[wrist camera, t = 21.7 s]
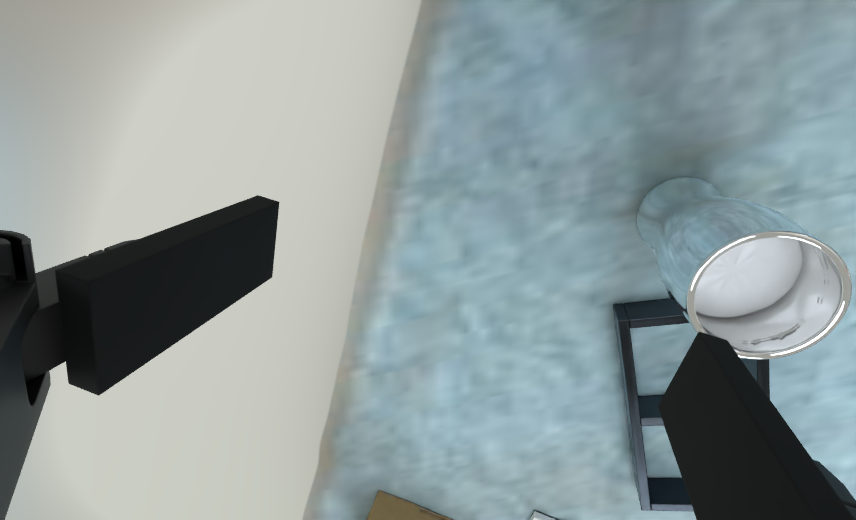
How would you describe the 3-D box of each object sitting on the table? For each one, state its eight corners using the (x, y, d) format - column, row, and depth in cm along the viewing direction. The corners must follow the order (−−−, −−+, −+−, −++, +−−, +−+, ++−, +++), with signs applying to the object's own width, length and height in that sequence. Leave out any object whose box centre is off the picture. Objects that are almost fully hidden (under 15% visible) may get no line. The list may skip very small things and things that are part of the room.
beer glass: (625, 180, 35) (677, 239, 21) (729, 161, 32) (862, 213, 19) (634, 264, 37) (687, 368, 23) (733, 252, 34) (855, 358, 21)
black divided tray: (751, 289, 35) (768, 306, 32) (756, 485, 41) (771, 513, 38) (612, 304, 38) (617, 320, 35) (635, 484, 44) (641, 510, 41)
